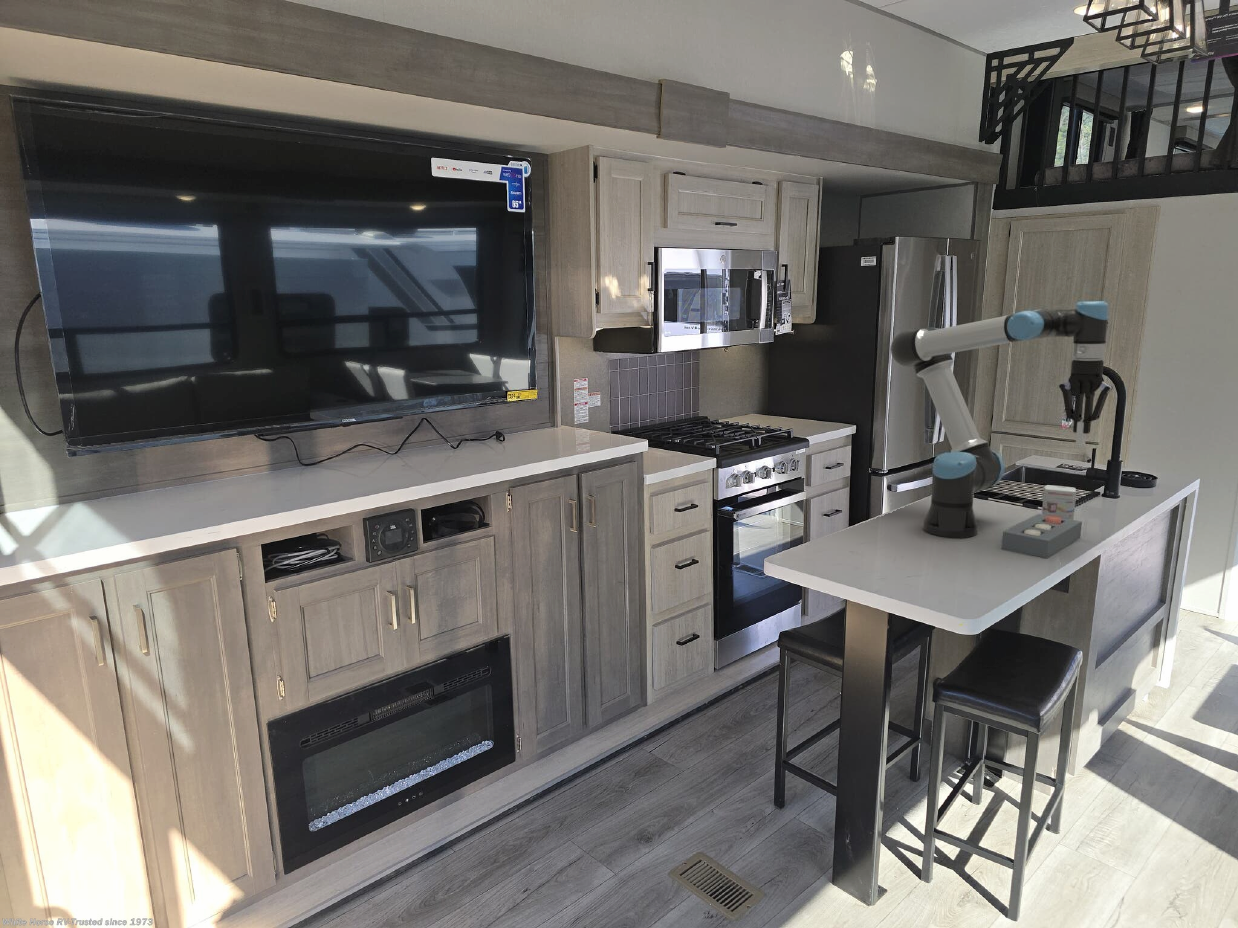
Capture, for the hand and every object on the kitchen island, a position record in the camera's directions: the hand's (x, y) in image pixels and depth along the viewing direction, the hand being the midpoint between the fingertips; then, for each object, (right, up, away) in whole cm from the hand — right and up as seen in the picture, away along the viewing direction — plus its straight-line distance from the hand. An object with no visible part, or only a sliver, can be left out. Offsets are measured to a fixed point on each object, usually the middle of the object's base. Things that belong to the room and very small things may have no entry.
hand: (1080, 444), depth 217 cm
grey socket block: (-7, -28, +7) cm, 30 cm away
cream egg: (-7, -28, +7) cm, 29 cm away
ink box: (+7, -24, +24) cm, 35 cm away
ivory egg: (-13, -29, +2) cm, 32 cm away
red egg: (-1, -26, +12) cm, 28 cm away
